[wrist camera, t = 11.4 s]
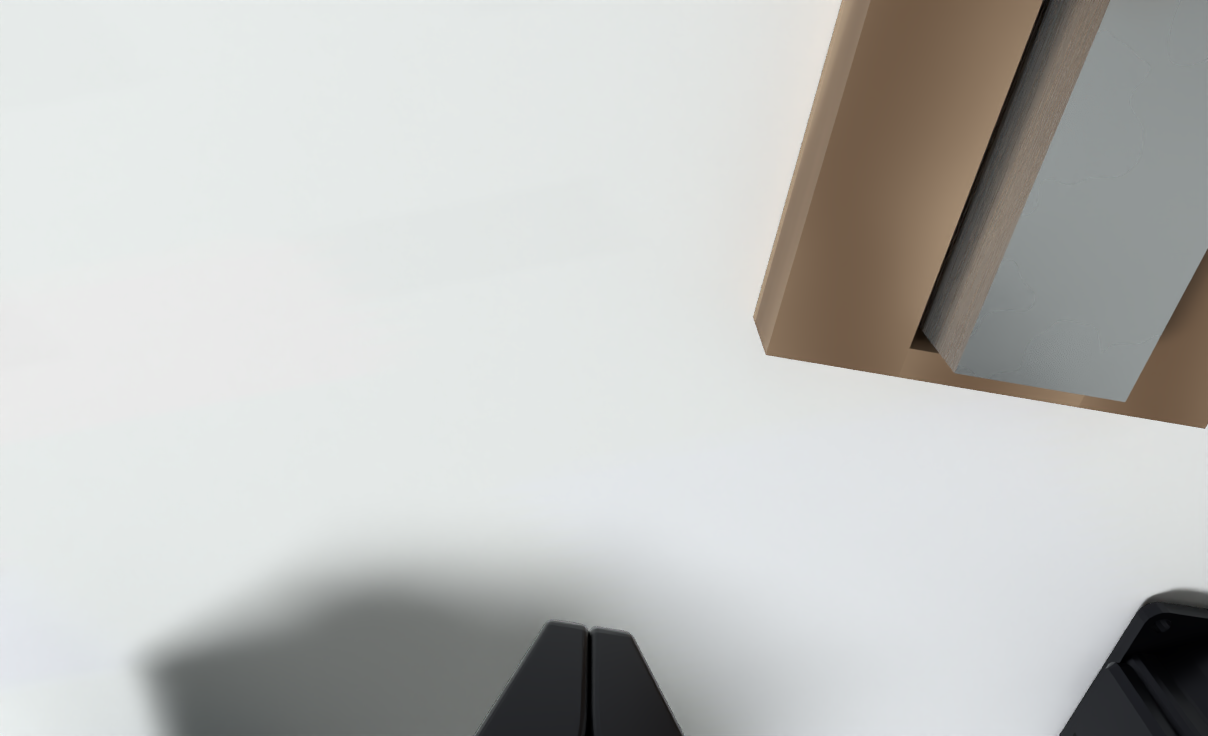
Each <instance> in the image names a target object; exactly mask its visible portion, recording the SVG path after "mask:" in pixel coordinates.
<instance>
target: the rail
mask: <svg viewBox="0 0 1208 736" xmlns="http://www.w3.org/2000/svg"><path fill="white" fill-rule="evenodd" d="M1207 249H1208V0H1043V2H1042V4H1041V7H1040V9H1039V12H1038V15H1037V17H1036V20H1035V22H1034V25H1033V28H1032V30H1031V33H1030V35H1029V38H1028V41H1027V43H1026V46H1025V49H1024V51H1023V54H1022V56H1021V59H1020V62H1019V64H1018V67H1017V69H1016V72H1015V75H1014V77H1013V80H1012V82H1011V85H1010V88H1009V90H1008V93H1007V95H1006V98H1005V101H1004V103H1003V106H1002V108H1001V111H1000V114H999V116H998V119H997V121H996V124H995V127H994V129H993V132H992V134H991V137H990V140H989V142H988V145H987V148H986V150H985V153H984V155H983V158H982V161H981V163H980V166H979V168H978V171H977V174H976V176H975V179H974V181H973V184H972V187H971V189H970V192H969V194H968V197H967V200H966V202H965V205H964V207H963V210H962V213H961V215H960V218H959V220H958V223H957V226H956V228H955V231H954V234H953V236H952V239H951V241H950V244H949V247H948V249H947V252H946V254H945V257H944V260H943V262H942V265H941V267H940V270H939V273H938V275H937V278H936V280H935V283H934V286H933V288H932V291H931V293H930V296H929V299H928V301H927V304H926V306H925V309H924V312H923V314H922V317H921V320H920V322H919V325H918V326H919V327H920V329H921V330H922V331H923V333H924V334H925V335H926V337H927V338H928V339H929V340H930V342H931V343H932V344H933V346H934V347H935V348H936V350H937V351H938V352H939V354H940V355H941V356H942V358H943V359H944V360H945V361H946V363H947V364H948V365H949V367H950V368H951V369H952V371H953V372H954V373H956V374H962V375H968V376H974V377H979V378H985V379H991V380H997V381H1003V382H1009V383H1015V384H1021V385H1027V386H1033V387H1039V388H1045V389H1050V390H1056V391H1062V392H1068V393H1074V394H1080V395H1086V396H1092V397H1098V398H1104V399H1110V400H1116V401H1121V402H1126V400H1127V398H1128V396H1129V394H1130V392H1131V390H1132V389H1133V387H1134V385H1135V383H1136V381H1137V379H1138V377H1139V376H1140V374H1141V372H1142V370H1143V368H1144V366H1145V364H1146V362H1147V361H1148V359H1149V357H1150V355H1151V353H1152V351H1153V349H1154V348H1155V346H1156V344H1157V342H1158V340H1159V338H1160V336H1161V335H1162V333H1163V331H1164V329H1165V327H1166V325H1167V323H1168V321H1169V320H1170V318H1171V316H1172V314H1173V312H1174V310H1175V308H1176V307H1177V305H1178V303H1179V301H1180V299H1181V297H1182V295H1183V293H1184V292H1185V290H1186V288H1187V286H1188V284H1189V282H1190V280H1191V279H1192V277H1193V275H1194V273H1195V271H1196V269H1197V267H1198V265H1199V264H1200V262H1201V260H1202V258H1203V256H1204V254H1205V252H1206V251H1207Z"/></svg>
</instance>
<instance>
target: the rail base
mask: <svg viewBox="0 0 1208 736" xmlns="http://www.w3.org/2000/svg"><path fill="white" fill-rule="evenodd" d="M1042 2H1043V0H842V3H841V6H840V10H839V13H838V17H837V21H836V24H835V28H834V31H833V35H832V38H831V42H830V45H829V49H828V53H827V56H826V60H825V63H824V67H823V70H822V74H821V77H820V81H819V85H818V88H817V92H816V95H815V99H814V102H813V106H812V109H811V113H810V117H809V120H808V124H807V127H806V131H805V134H804V138H803V141H802V145H801V149H800V152H799V156H798V159H797V163H796V166H795V170H794V174H793V177H792V181H791V184H790V188H789V191H788V195H787V198H786V202H785V206H784V209H783V213H782V216H781V220H780V223H779V227H778V230H777V234H776V238H775V241H774V245H773V248H772V252H771V255H770V259H769V262H768V266H767V270H766V273H765V277H764V280H763V284H762V287H761V291H760V294H759V298H758V302H757V305H756V309H755V312H754V316H753V318H754V321H755V324H756V327H757V330H758V333H759V336H760V339H761V342H762V345H763V348H764V351H765V354H766V355H770V356H776V357H782V358H788V359H794V360H800V361H806V362H812V363H818V364H824V365H829V366H835V367H841V368H847V369H853V370H859V371H865V372H871V373H877V374H883V375H889V376H895V377H901V378H907V379H913V380H919V381H925V382H931V383H937V384H943V385H948V386H954V387H960V388H966V389H972V390H978V391H984V392H990V393H996V394H1002V395H1008V396H1014V397H1020V398H1026V399H1032V400H1038V401H1044V402H1050V403H1056V404H1062V405H1067V406H1073V407H1079V408H1085V409H1091V410H1097V411H1103V412H1109V413H1115V414H1121V415H1127V416H1133V417H1139V418H1145V419H1151V420H1157V421H1163V422H1169V423H1175V424H1181V425H1186V426H1192V427H1198V428H1204V429H1205V428H1206V426H1207V424H1208V249H1207V251H1206V252H1205V254H1204V256H1203V258H1202V260H1201V262H1200V264H1199V265H1198V267H1197V269H1196V271H1195V273H1194V275H1193V277H1192V279H1191V280H1190V282H1189V284H1188V286H1187V288H1186V290H1185V292H1184V293H1183V295H1182V297H1181V299H1180V301H1179V303H1178V305H1177V307H1176V308H1175V310H1174V312H1173V314H1172V316H1171V318H1170V320H1169V321H1168V323H1167V325H1166V327H1165V329H1164V331H1163V333H1162V335H1161V336H1160V338H1159V340H1158V342H1157V344H1156V346H1155V348H1154V349H1153V351H1152V353H1151V355H1150V357H1149V359H1148V361H1147V362H1146V364H1145V366H1144V368H1143V370H1142V372H1141V374H1140V376H1139V377H1138V379H1137V381H1136V383H1135V385H1134V387H1133V389H1132V390H1131V392H1130V394H1129V396H1128V398H1127V400H1126V402H1121V401H1116V400H1110V399H1104V398H1098V397H1092V396H1086V395H1080V394H1074V393H1068V392H1062V391H1056V390H1050V389H1045V388H1039V387H1033V386H1027V385H1021V384H1015V383H1009V382H1003V381H997V380H991V379H985V378H979V377H974V376H968V375H962V374H956V373H954V372H953V371H952V369H951V368H950V367H949V365H948V364H947V363H946V361H945V360H944V359H943V358H942V356H941V355H940V354H939V352H938V351H937V350H936V348H935V347H934V346H933V344H932V343H931V342H930V340H929V339H928V338H927V337H926V335H925V334H924V333H923V331H922V330H921V329H920V327H919V326H918V325H919V322H920V320H921V317H922V314H923V312H924V309H925V306H926V304H927V301H928V299H929V296H930V293H931V291H932V288H933V286H934V283H935V280H936V278H937V275H938V273H939V270H940V267H941V265H942V262H943V260H944V257H945V254H946V252H947V249H948V247H949V244H950V241H951V239H952V236H953V234H954V231H955V228H956V226H957V223H958V220H959V218H960V215H961V213H962V210H963V207H964V205H965V202H966V200H967V197H968V194H969V192H970V189H971V187H972V184H973V181H974V179H975V176H976V174H977V171H978V168H979V166H980V163H981V161H982V158H983V155H984V153H985V150H986V148H987V145H988V142H989V140H990V137H991V134H992V132H993V129H994V127H995V124H996V121H997V119H998V116H999V114H1000V111H1001V108H1002V106H1003V103H1004V101H1005V98H1006V95H1007V93H1008V90H1009V88H1010V85H1011V82H1012V80H1013V77H1014V75H1015V72H1016V69H1017V67H1018V64H1019V62H1020V59H1021V56H1022V54H1023V51H1024V49H1025V46H1026V43H1027V41H1028V38H1029V35H1030V33H1031V30H1032V28H1033V25H1034V22H1035V20H1036V17H1037V15H1038V12H1039V9H1040V7H1041V4H1042Z"/></svg>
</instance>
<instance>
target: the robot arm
mask: <svg viewBox="0 0 1208 736" xmlns="http://www.w3.org/2000/svg"><path fill="white" fill-rule="evenodd" d="M474 736H684V735H683V733H682V731H681V729H680V727H679V725H678V723H677V721H676V719H675V717H674V715H673V713H672V711H671V709H670V707H669V705H668V703H667V701H666V699H665V697H664V695H663V693H662V692H661V690H660V688H659V686H658V684H657V682H656V680H655V678H654V676H653V674H652V672H651V670H650V668H649V666H648V664H647V662H646V660H645V658H644V656H643V654H642V652H641V651H640V649H639V647H638V645H637V643H636V641H635V639H634V637H633V636H632V635H631V634H630V633H629V632H627V631H622V630H616V629H610V628H604V627H593V628H591V629H590V630H589V632H588V629H587V627H586V626H585V625H583V624H579V623H573V622H567V621H560V620H549V621H547V622H546V623H545V624H544V626H543V627H542V629H541V631H540V632H539V634H538V635H537V637H536V638H535V640H534V642H533V643H532V645H531V646H530V648H529V649H528V651H527V653H526V654H525V656H524V657H523V659H522V661H521V662H520V664H519V665H518V667H517V668H516V670H515V672H514V673H513V675H512V676H511V678H510V679H509V681H508V683H507V684H506V686H505V687H504V689H503V691H502V692H501V694H500V695H499V697H498V698H497V700H496V702H495V703H494V705H493V706H492V708H491V709H490V711H489V713H488V714H487V716H486V717H485V719H484V721H483V722H482V724H481V725H480V727H479V728H478V730H477V732H476V733H475V735H474ZM1060 736H1208V609H1202V608H1195V607H1189V606H1182V605H1176V604H1170V603H1163V602H1154V603H1151V604H1147V605H1146V606H1144V607H1142V608H1141V609H1140V610H1139V611H1138V612H1137V613H1136V615H1135V616H1134V618H1133V619H1132V621H1131V623H1130V624H1129V626H1128V627H1127V629H1126V631H1125V632H1124V634H1123V635H1122V637H1121V639H1120V640H1119V642H1118V643H1117V645H1116V646H1115V648H1114V650H1113V651H1112V653H1111V654H1110V656H1109V658H1108V659H1107V661H1106V662H1105V664H1104V666H1103V667H1102V669H1101V670H1100V672H1099V674H1098V675H1097V677H1096V678H1095V680H1094V681H1093V683H1092V685H1091V686H1090V688H1089V689H1088V691H1087V693H1086V694H1085V696H1084V697H1083V699H1082V701H1081V702H1080V704H1079V705H1078V707H1077V709H1076V710H1075V712H1074V713H1073V715H1072V716H1071V718H1070V720H1069V721H1068V723H1067V724H1066V726H1065V728H1064V729H1063V731H1062V732H1061V734H1060Z"/></svg>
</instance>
